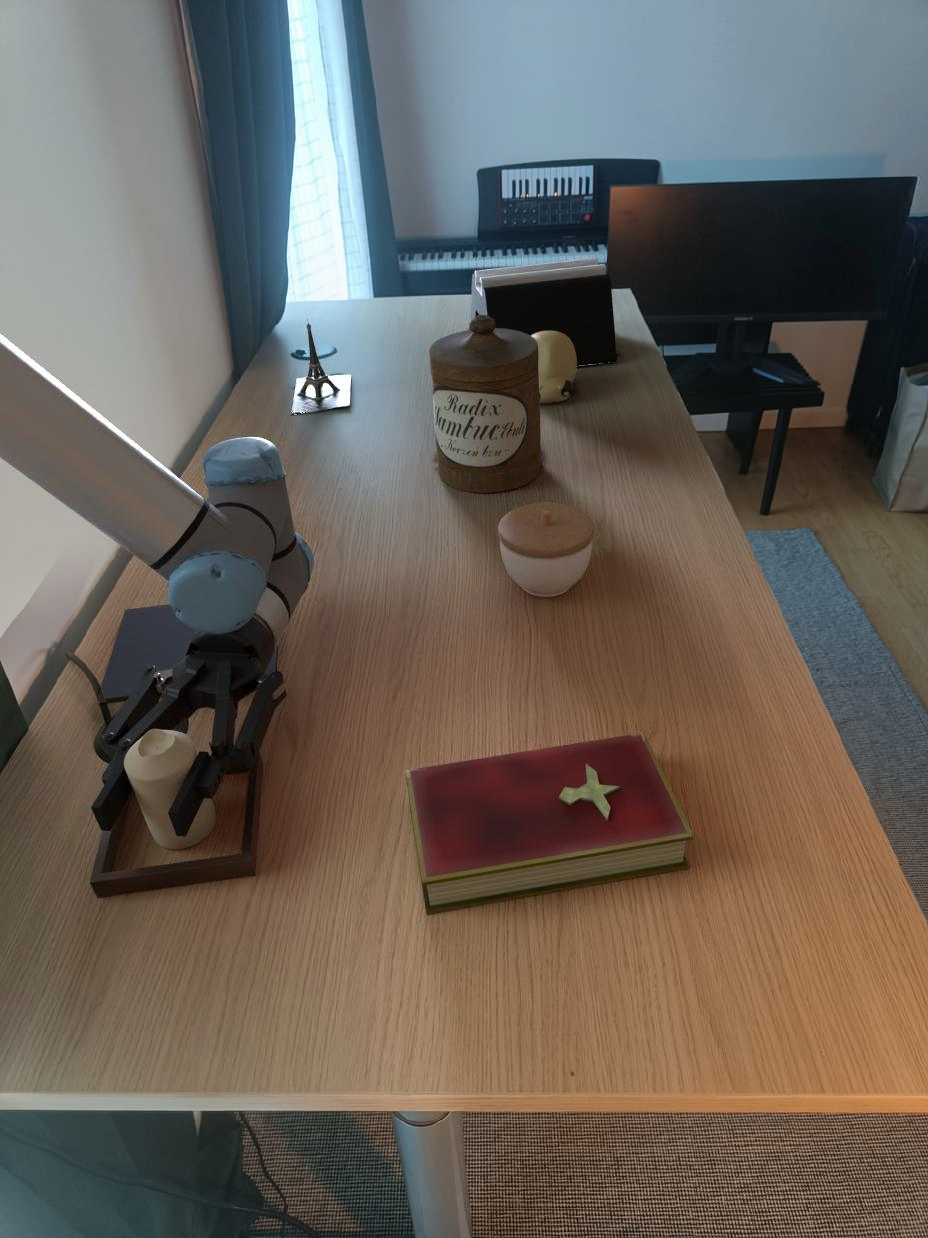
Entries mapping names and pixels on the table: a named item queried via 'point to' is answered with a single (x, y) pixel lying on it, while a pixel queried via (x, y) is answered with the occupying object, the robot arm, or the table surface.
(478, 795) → the hardcover book
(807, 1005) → the table surface
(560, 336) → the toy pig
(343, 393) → the eiffel tower figurine
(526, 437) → the wooden container
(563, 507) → the trinket box
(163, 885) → the square wooden frame
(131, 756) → the candle
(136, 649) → the felt mat
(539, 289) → the device stand
